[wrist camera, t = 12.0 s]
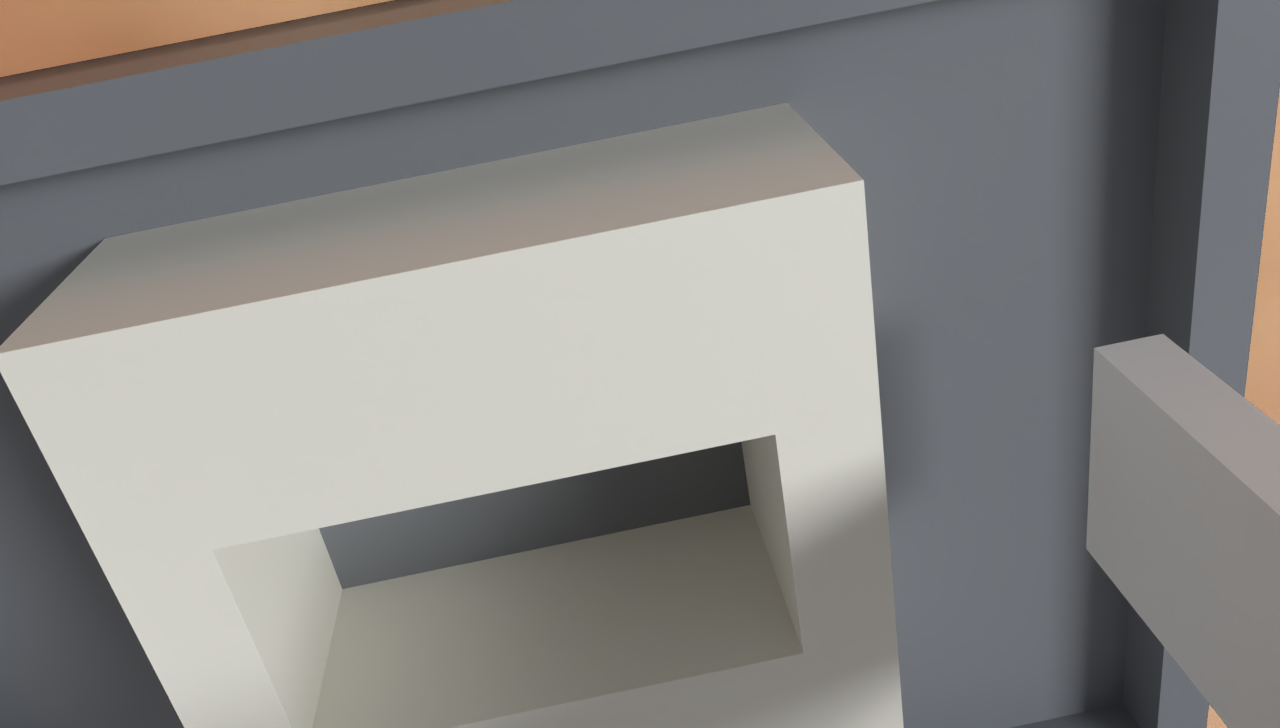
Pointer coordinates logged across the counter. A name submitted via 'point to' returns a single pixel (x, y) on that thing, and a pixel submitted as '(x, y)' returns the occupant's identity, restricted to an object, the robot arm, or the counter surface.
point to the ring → (491, 438)
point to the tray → (899, 263)
